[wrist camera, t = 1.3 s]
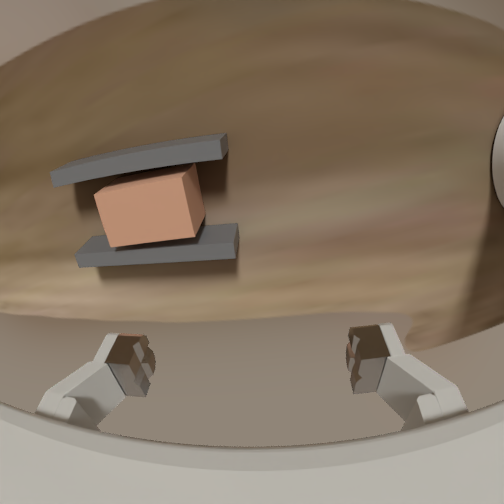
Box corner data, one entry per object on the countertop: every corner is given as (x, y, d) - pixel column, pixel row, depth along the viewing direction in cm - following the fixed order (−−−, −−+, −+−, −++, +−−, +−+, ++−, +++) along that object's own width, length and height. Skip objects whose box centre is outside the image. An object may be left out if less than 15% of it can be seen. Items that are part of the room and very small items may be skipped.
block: (195, 162, 27) (181, 177, 23) (205, 213, 30) (194, 236, 25) (117, 177, 28) (93, 194, 24) (130, 224, 30) (110, 247, 26)
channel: (226, 133, 26) (219, 139, 22) (239, 237, 30) (235, 258, 27) (72, 161, 27) (49, 172, 24) (96, 248, 32) (79, 267, 28)
